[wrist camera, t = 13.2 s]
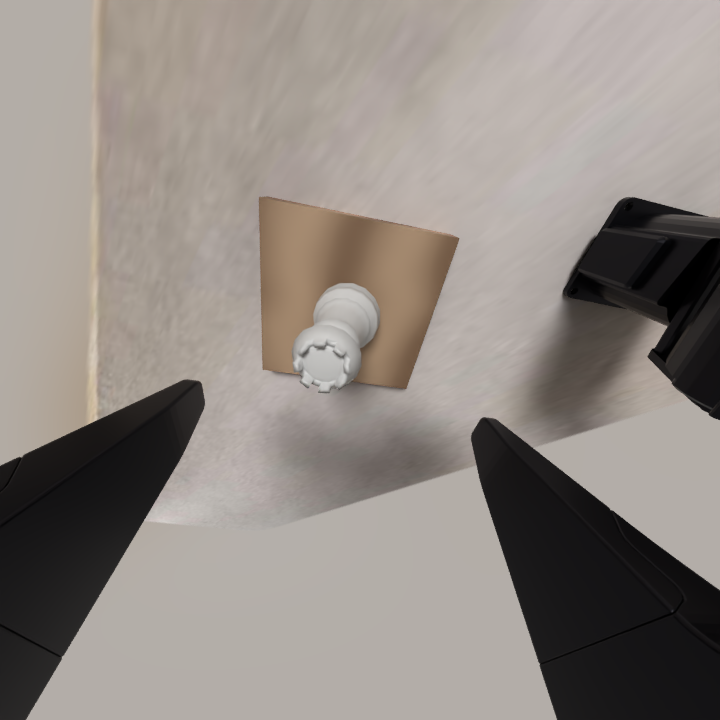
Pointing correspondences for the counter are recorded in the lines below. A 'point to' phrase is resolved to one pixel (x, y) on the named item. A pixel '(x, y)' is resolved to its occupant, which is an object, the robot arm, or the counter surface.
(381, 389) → the counter surface
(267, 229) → the walnut block
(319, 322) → the rook chess piece
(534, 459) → the robot arm
